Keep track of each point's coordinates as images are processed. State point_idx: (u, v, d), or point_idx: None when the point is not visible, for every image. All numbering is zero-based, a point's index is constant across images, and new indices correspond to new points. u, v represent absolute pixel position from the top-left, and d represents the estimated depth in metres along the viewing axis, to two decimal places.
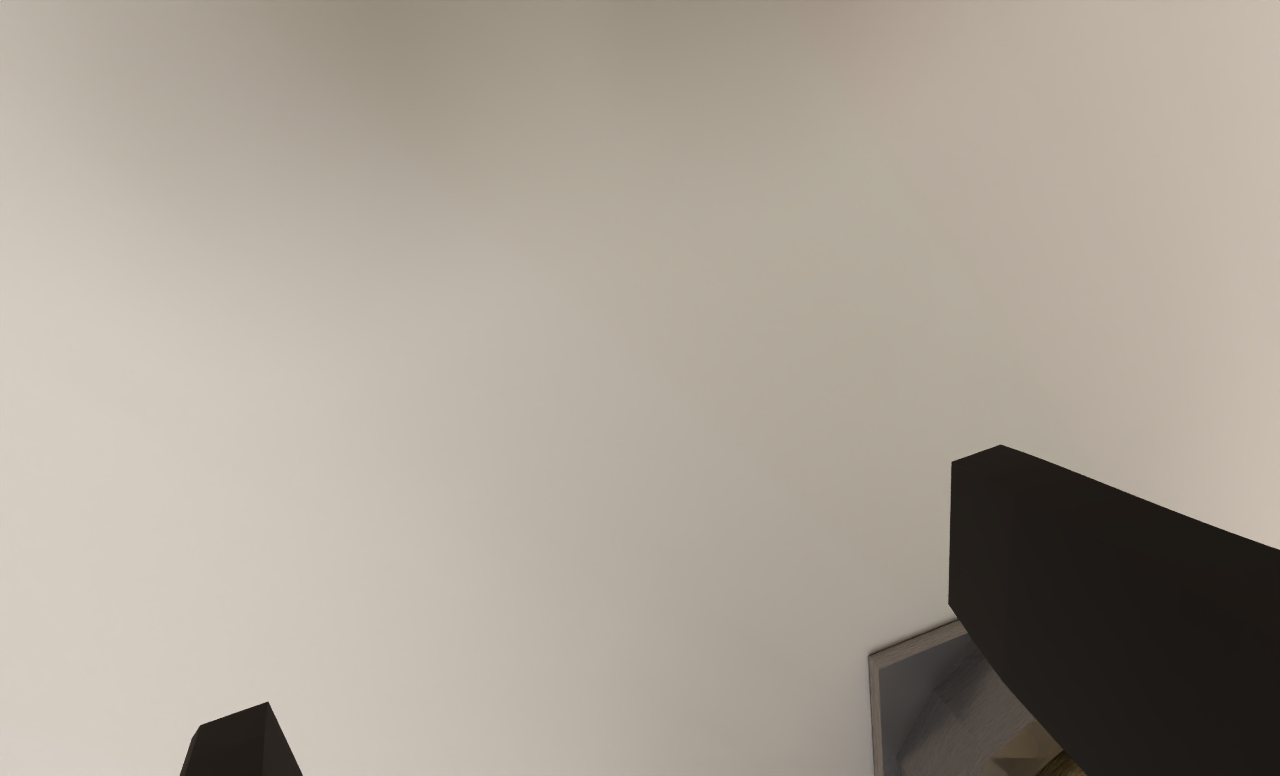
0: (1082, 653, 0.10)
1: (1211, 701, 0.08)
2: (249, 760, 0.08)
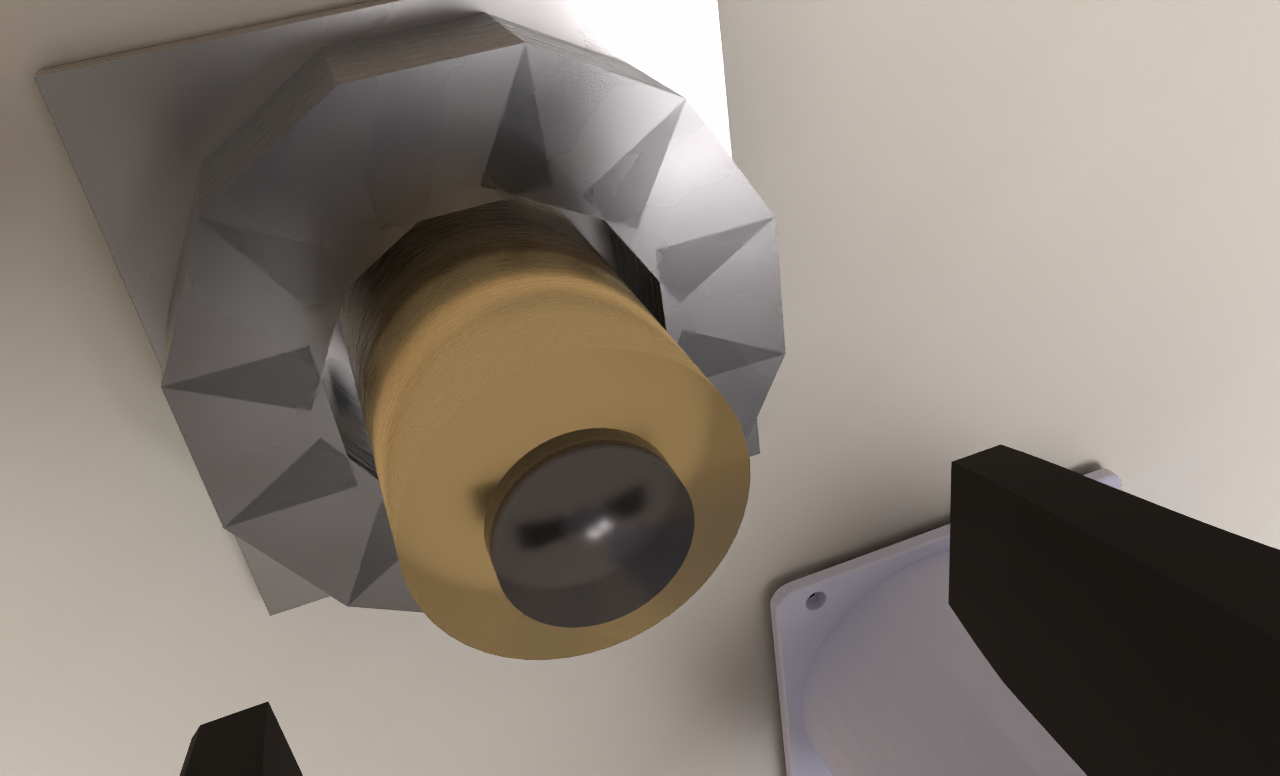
0: (1081, 652, 0.10)
1: (1211, 701, 0.08)
2: (248, 760, 0.08)
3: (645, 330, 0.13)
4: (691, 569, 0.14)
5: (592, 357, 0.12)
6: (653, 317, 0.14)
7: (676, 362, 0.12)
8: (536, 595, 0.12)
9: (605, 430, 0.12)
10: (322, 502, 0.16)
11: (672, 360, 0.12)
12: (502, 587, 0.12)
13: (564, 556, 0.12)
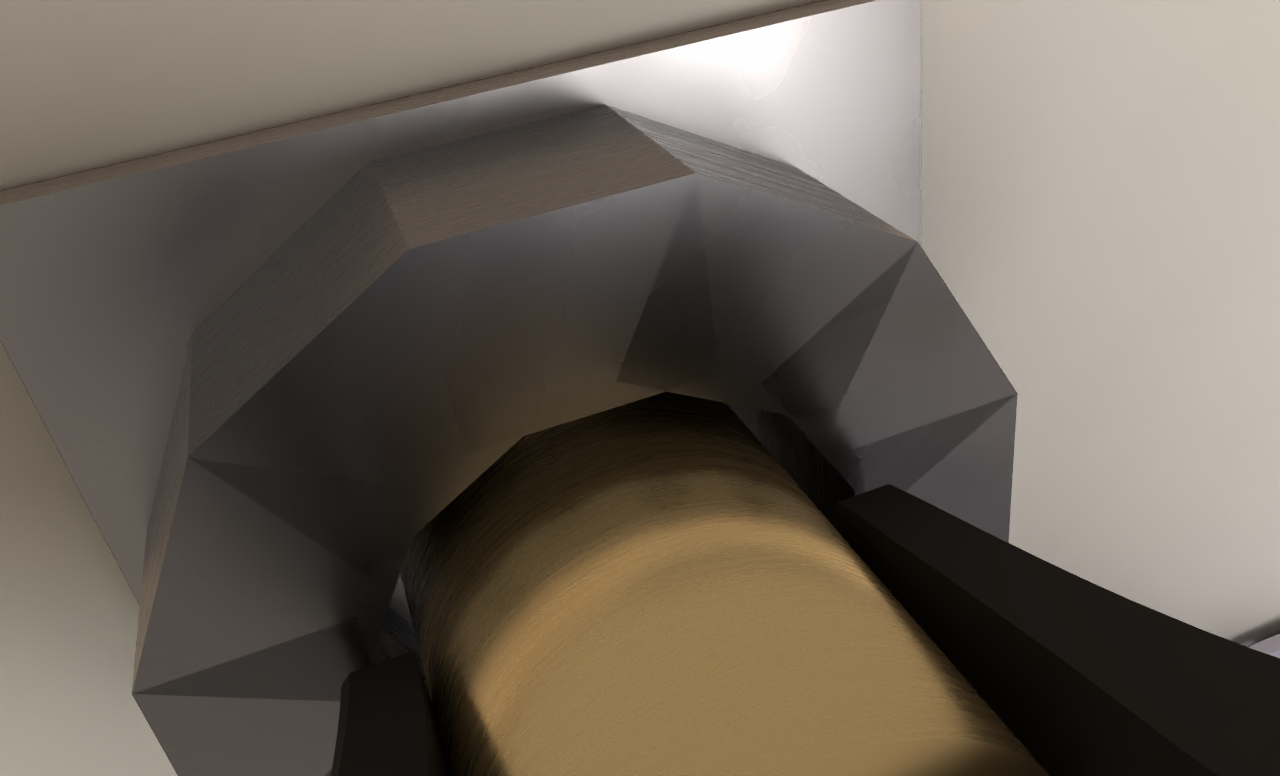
0: None
1: (1070, 762, 0.08)
2: (409, 702, 0.09)
3: (918, 663, 0.08)
4: None
5: (868, 761, 0.07)
6: (889, 592, 0.09)
7: (994, 745, 0.07)
8: None
9: None
10: None
11: (987, 742, 0.07)
12: None
13: None
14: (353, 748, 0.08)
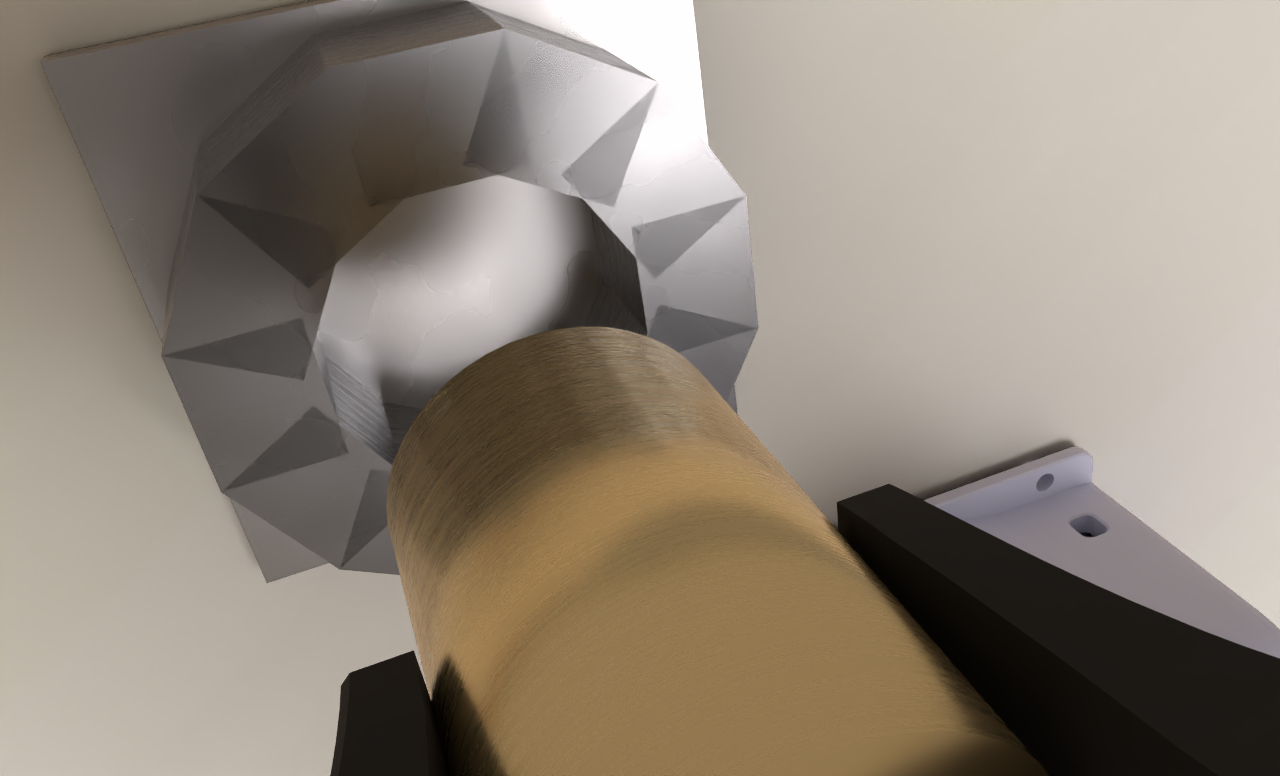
0: None
1: (1070, 763, 0.08)
2: (409, 702, 0.09)
3: (914, 657, 0.08)
4: None
5: (864, 752, 0.07)
6: (885, 587, 0.09)
7: (988, 738, 0.07)
8: None
9: None
10: (315, 468, 0.17)
11: (982, 735, 0.07)
12: None
13: None
14: (353, 748, 0.08)
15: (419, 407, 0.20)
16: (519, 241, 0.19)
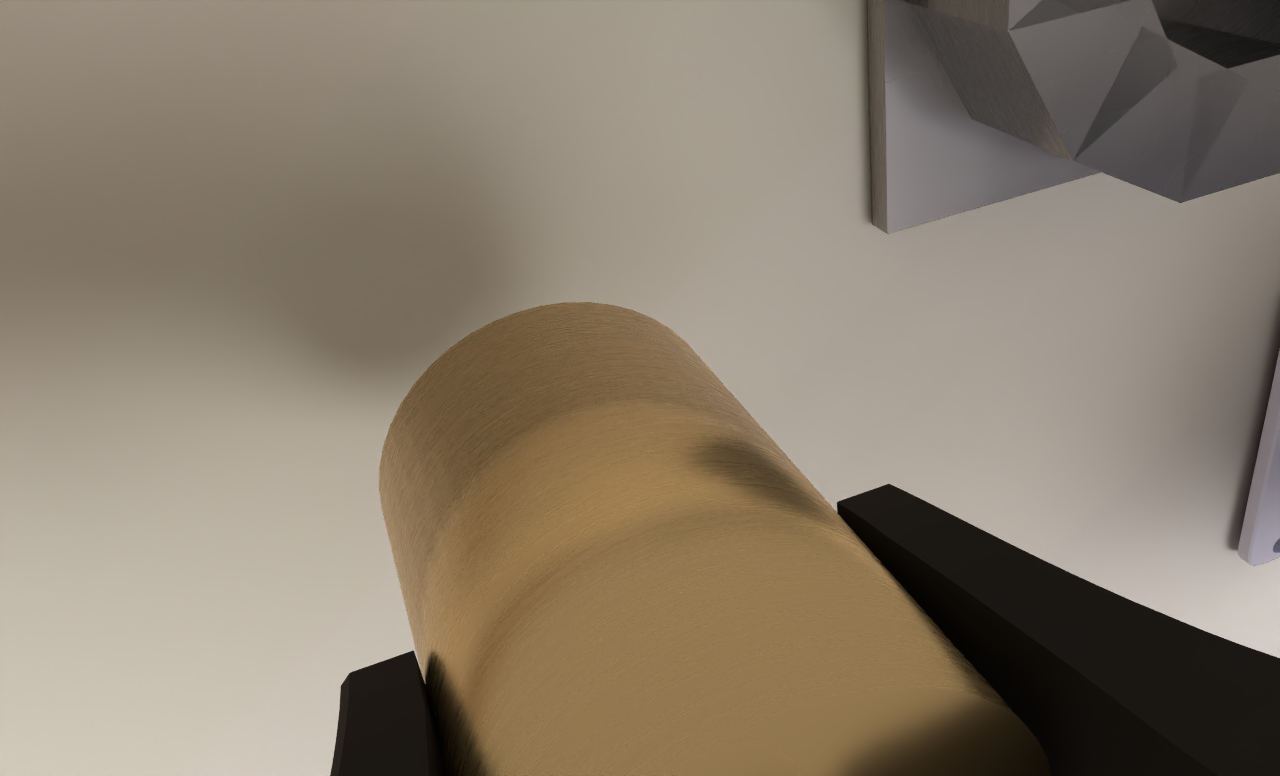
0: None
1: (1070, 763, 0.08)
2: (409, 702, 0.09)
3: (917, 624, 0.08)
4: None
5: (873, 704, 0.07)
6: None
7: (989, 702, 0.07)
8: None
9: None
10: (1096, 16, 0.14)
11: (984, 698, 0.07)
12: None
13: None
14: (353, 748, 0.08)
15: None
16: None
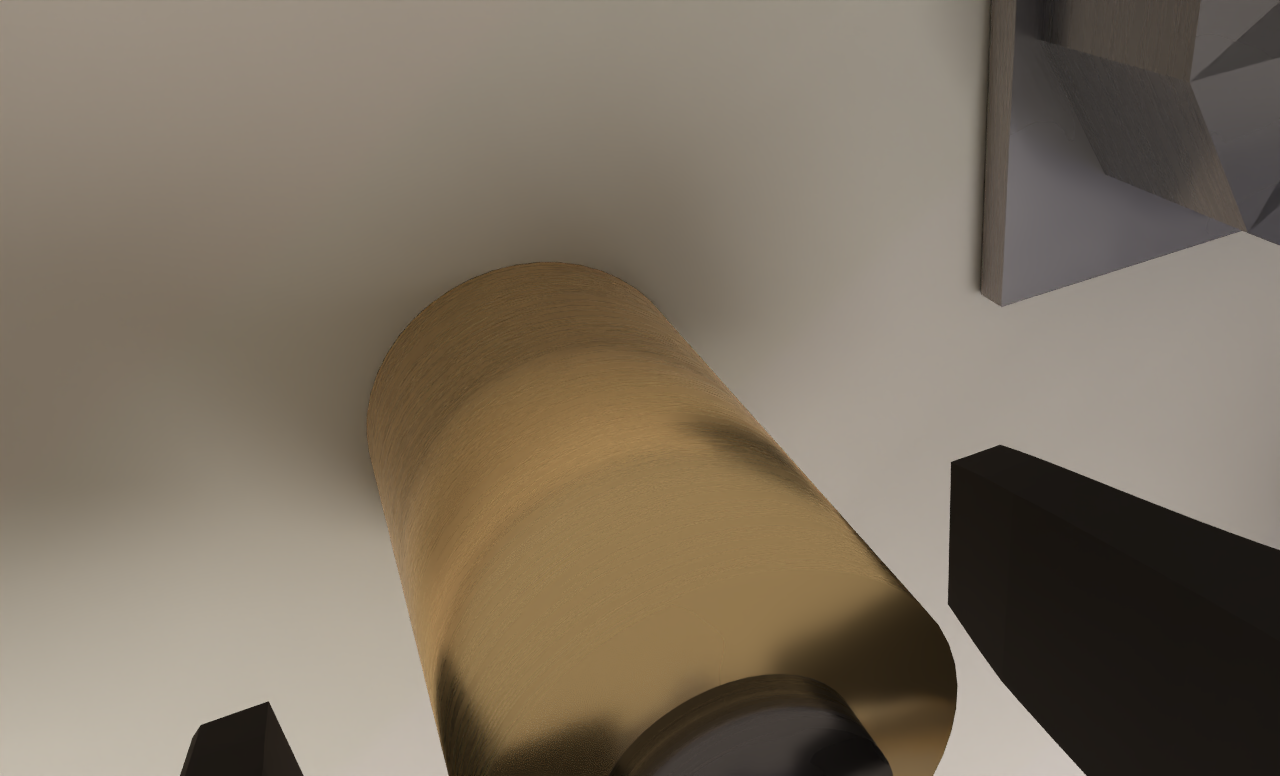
0: (1082, 653, 0.10)
1: (1210, 702, 0.08)
2: (249, 760, 0.08)
3: (834, 526, 0.09)
4: None
5: (786, 583, 0.08)
6: None
7: (892, 587, 0.08)
8: None
9: (782, 677, 0.08)
10: None
11: (887, 584, 0.08)
12: None
13: None
14: None
15: None
16: None
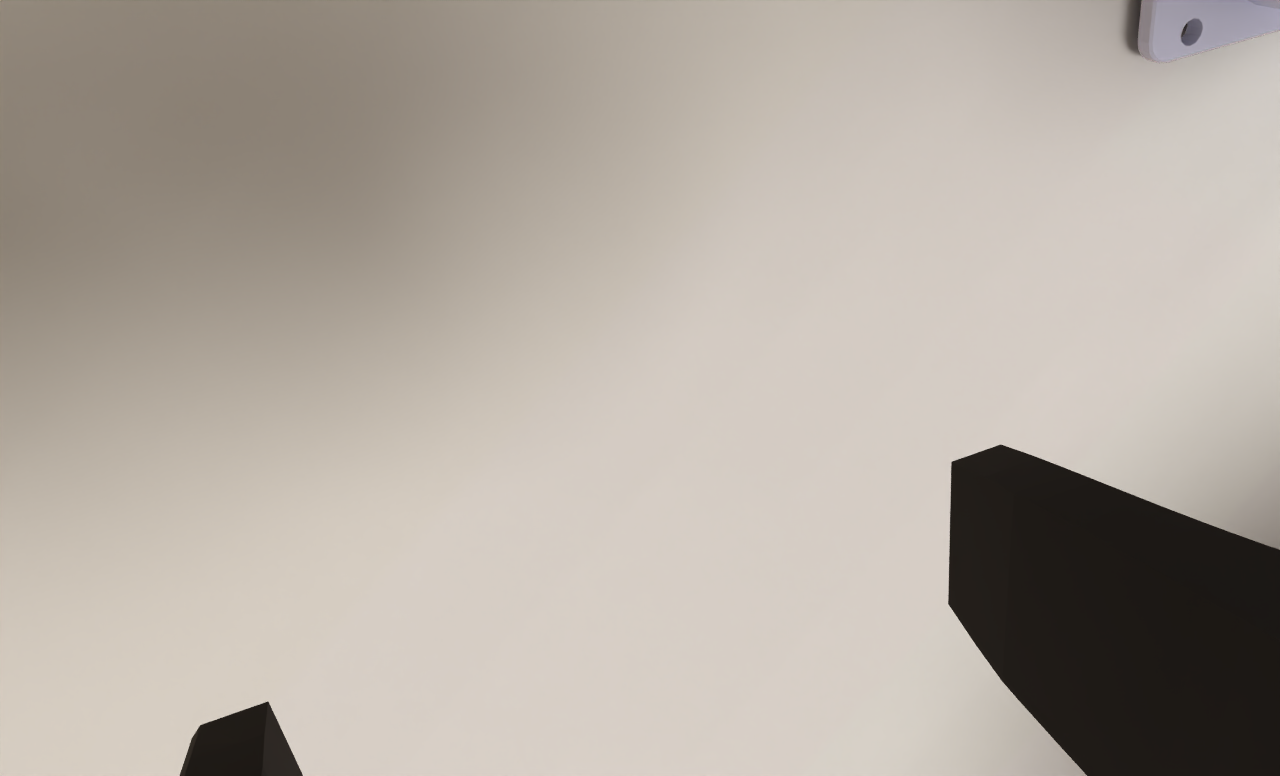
0: (1081, 653, 0.10)
1: (1211, 701, 0.08)
2: (248, 760, 0.08)
3: None
4: None
5: None
6: None
7: None
8: None
9: None
10: None
11: None
12: None
13: None
14: None
15: None
16: None
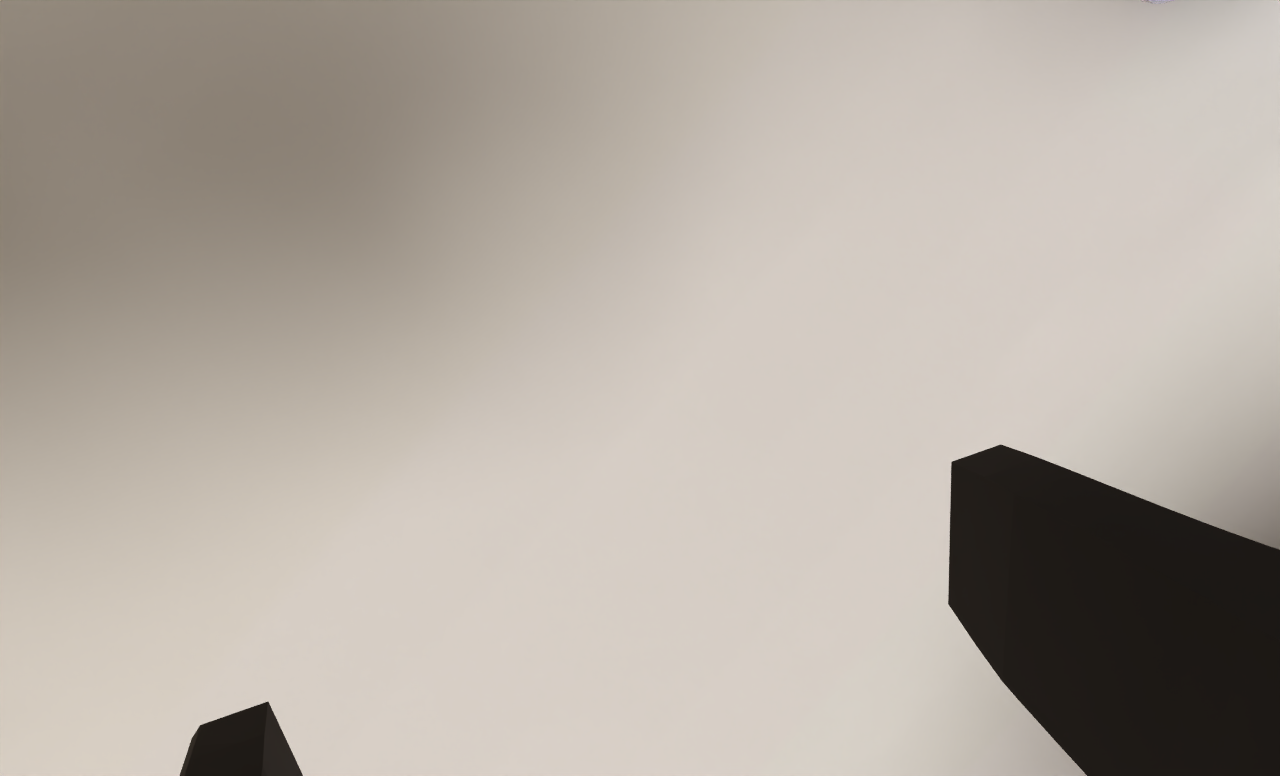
0: (1082, 653, 0.10)
1: (1211, 702, 0.08)
2: (249, 760, 0.08)
3: None
4: None
5: None
6: None
7: None
8: None
9: None
10: None
11: None
12: None
13: None
14: None
15: None
16: None
